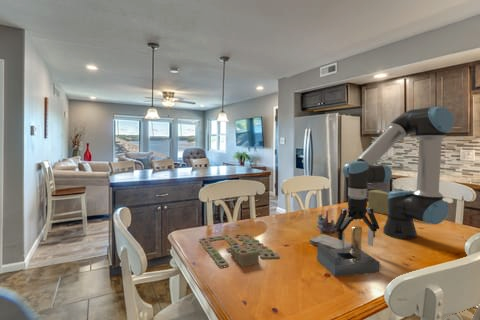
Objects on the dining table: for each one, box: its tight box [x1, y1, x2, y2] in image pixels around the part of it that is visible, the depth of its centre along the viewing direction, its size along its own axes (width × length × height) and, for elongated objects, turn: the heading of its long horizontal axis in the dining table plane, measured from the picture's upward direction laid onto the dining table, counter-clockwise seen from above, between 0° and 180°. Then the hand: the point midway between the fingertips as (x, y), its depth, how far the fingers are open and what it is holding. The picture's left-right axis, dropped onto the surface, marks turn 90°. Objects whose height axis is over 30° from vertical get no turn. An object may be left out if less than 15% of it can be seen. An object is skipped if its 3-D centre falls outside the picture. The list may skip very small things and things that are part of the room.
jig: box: [316, 243, 380, 278], centre depth 104 cm, size 18×14×7 cm
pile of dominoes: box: [198, 233, 280, 268], centre depth 121 cm, size 35×27×6 cm
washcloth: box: [308, 234, 351, 249], centre depth 125 cm, size 12×18×3 cm, turn 38°
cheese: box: [367, 189, 389, 216], centre depth 178 cm, size 22×10×15 cm, turn 24°
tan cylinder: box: [350, 225, 363, 250], centre depth 114 cm, size 4×4×12 cm
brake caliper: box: [316, 210, 336, 233], centre depth 147 cm, size 11×11×12 cm
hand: (356, 246), depth 114 cm, fingers open, 13 cm apart
